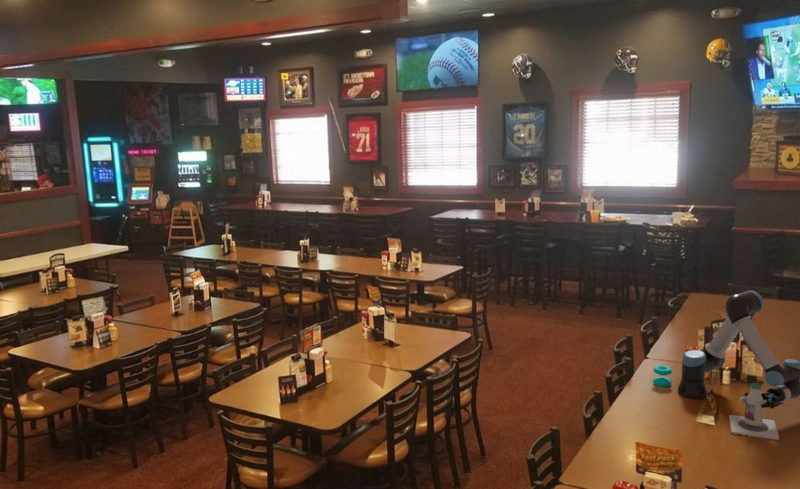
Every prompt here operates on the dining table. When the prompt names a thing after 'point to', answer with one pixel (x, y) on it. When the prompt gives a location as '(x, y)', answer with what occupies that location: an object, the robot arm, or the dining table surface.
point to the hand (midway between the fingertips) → (748, 404)
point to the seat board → (753, 428)
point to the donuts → (663, 371)
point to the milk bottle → (753, 398)
